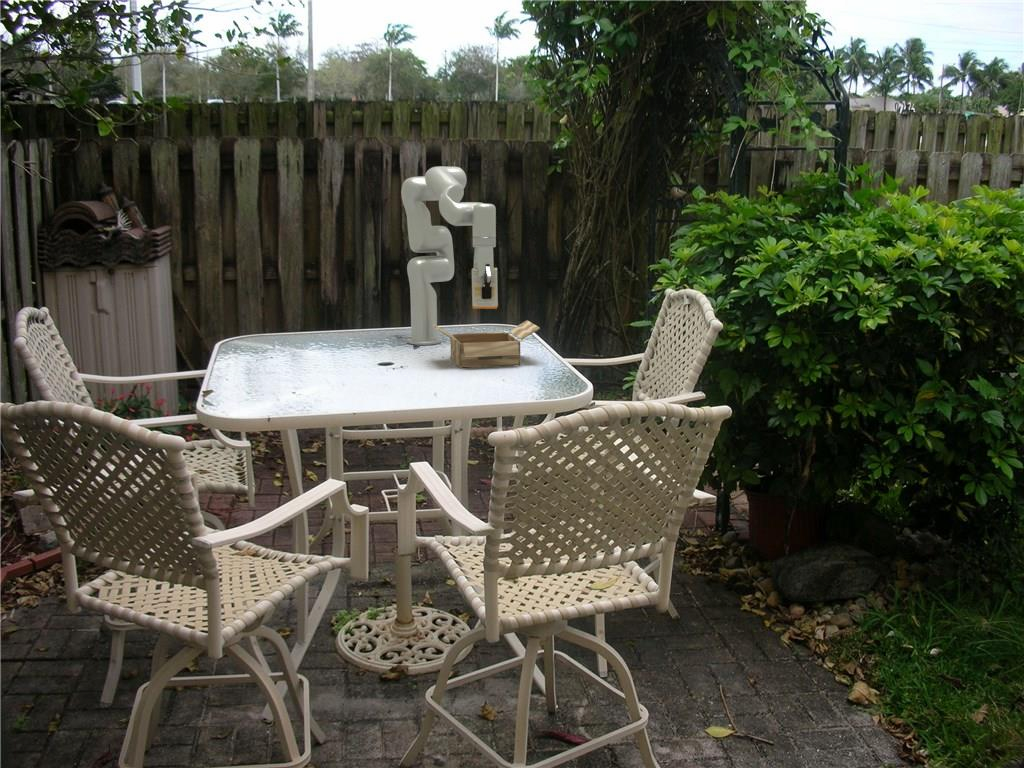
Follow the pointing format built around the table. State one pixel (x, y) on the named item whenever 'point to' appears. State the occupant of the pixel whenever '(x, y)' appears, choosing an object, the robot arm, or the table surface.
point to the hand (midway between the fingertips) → (484, 297)
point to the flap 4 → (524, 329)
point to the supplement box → (477, 292)
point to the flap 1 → (444, 332)
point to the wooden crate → (461, 361)
